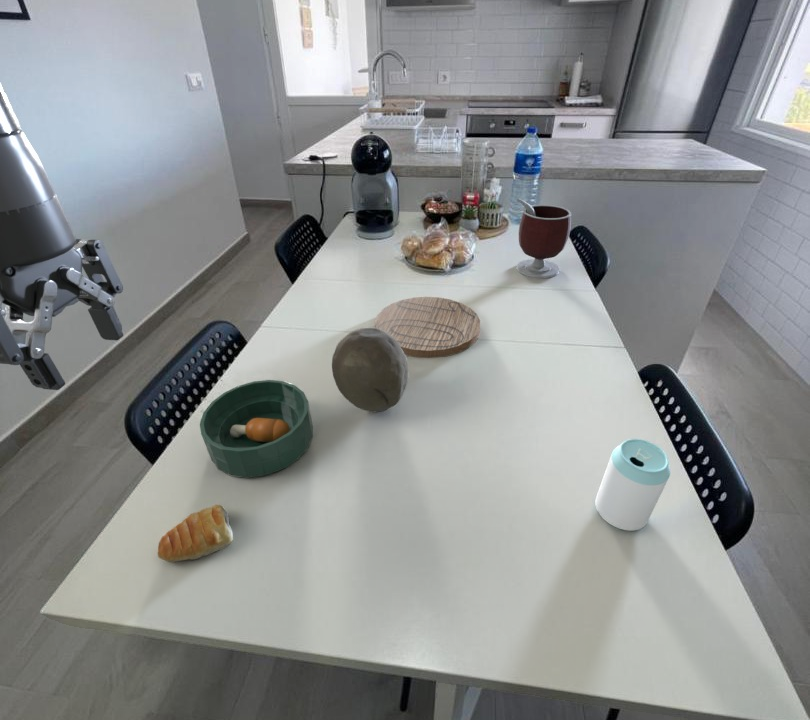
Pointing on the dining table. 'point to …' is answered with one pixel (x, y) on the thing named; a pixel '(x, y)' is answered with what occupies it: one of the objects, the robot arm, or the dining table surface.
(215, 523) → the pastry
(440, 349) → the trivet
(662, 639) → the dining table surface
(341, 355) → the grey clay lump
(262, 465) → the green faceted bowl
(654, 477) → the can
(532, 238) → the mate gourd
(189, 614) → the dining table surface
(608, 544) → the dining table surface
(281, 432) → the drumstick
